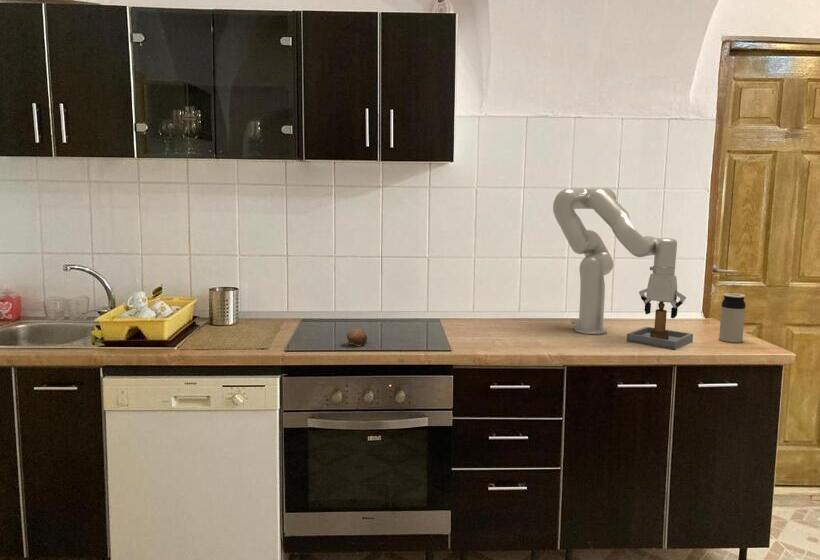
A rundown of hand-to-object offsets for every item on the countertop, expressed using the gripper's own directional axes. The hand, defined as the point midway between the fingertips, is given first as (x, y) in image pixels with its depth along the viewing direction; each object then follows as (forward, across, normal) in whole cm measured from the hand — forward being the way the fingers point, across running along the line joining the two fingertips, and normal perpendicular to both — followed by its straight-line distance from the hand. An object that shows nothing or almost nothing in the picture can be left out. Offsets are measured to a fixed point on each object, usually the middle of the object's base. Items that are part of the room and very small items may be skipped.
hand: (660, 315), depth 232 cm
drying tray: (+10, 0, 0) cm, 10 cm away
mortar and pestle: (+9, 0, 0) cm, 9 cm away
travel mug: (+10, +20, +21) cm, 30 cm away
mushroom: (+12, -78, -85) cm, 116 cm away
